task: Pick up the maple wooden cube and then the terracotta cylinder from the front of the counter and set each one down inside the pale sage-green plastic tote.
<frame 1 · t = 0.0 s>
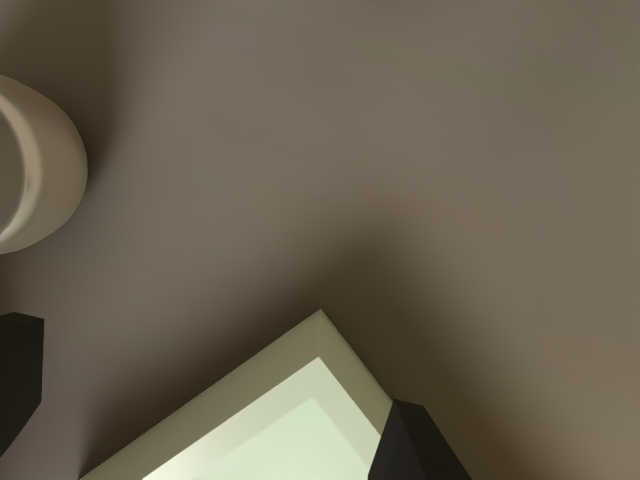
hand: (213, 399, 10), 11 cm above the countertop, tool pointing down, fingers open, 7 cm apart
plastic bottle: (31, 164, 20), on the countertop
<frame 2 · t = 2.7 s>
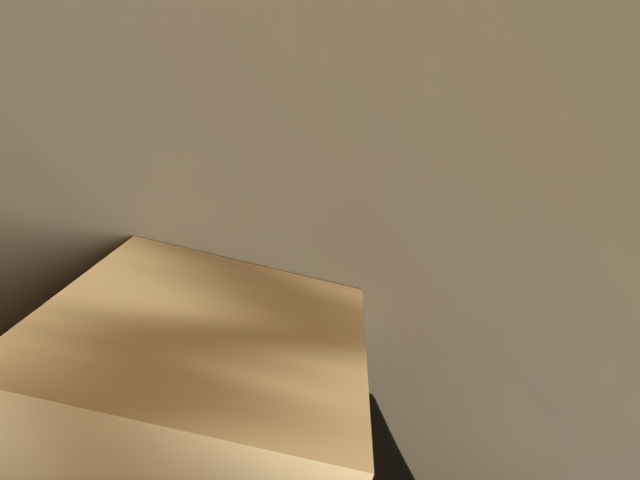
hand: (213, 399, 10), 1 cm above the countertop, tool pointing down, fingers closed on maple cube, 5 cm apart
maple cube: (229, 360, 11), on the countertop, touching gripper
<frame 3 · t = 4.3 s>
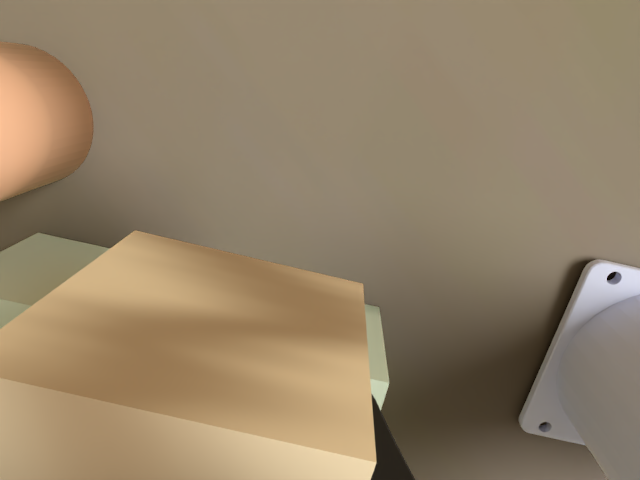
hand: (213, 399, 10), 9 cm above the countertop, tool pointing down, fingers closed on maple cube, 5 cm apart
maple cube: (230, 354, 11), point 8 cm above the countertop, touching gripper
sage tote: (184, 444, 22), on the countertop
terracotta cylinder: (26, 116, 17), on the countertop
when the fingers open (4 cm above the countertop, at t = 6.3 s): maple cube drops 2 cm, resting on sage tote.
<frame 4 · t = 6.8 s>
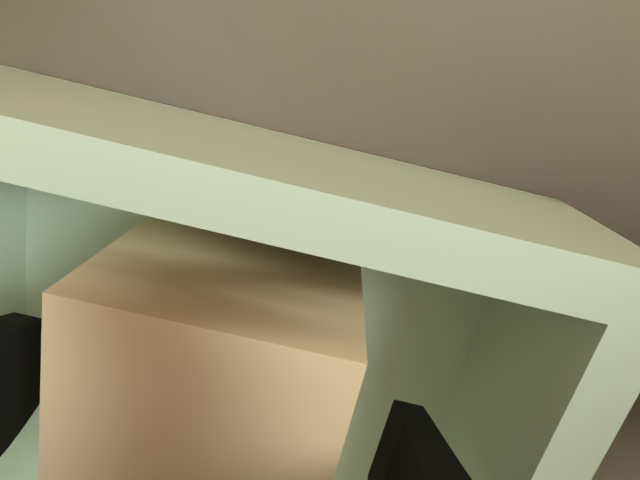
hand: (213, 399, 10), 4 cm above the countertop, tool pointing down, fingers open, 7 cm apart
maple cube: (246, 314, 13), point 1 cm above the countertop, touching sage tote
sage tote: (227, 422, 15), on the countertop
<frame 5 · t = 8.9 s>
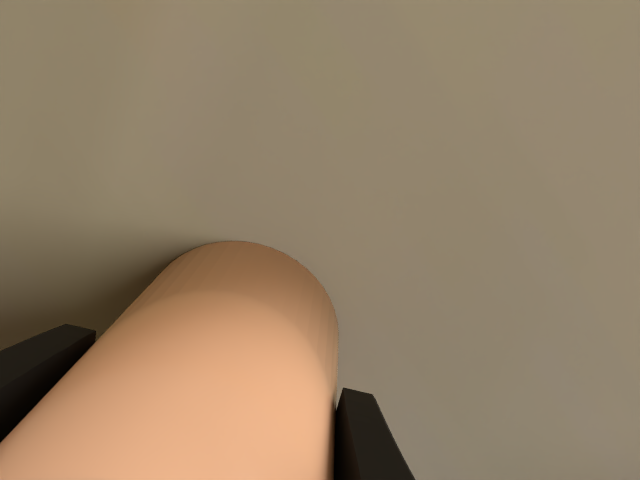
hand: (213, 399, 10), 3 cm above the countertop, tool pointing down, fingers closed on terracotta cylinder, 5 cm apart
terracotta cylinder: (240, 333, 12), on the countertop, touching gripper
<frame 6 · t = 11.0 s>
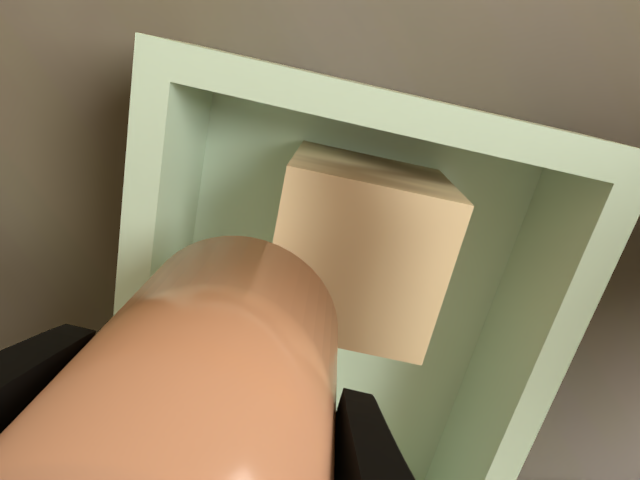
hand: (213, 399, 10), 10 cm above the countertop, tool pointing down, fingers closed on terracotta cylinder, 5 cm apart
maple cube: (355, 220, 18), point 1 cm above the countertop, touching sage tote
sage tote: (332, 309, 20), on the countertop
terracotta cylinder: (240, 328, 12), point 7 cm above the countertop, touching gripper
when the fingers open (5 cm above the countertop, at t = 13.0 s): terracotta cylinder drops 2 cm, resting on sage tote.
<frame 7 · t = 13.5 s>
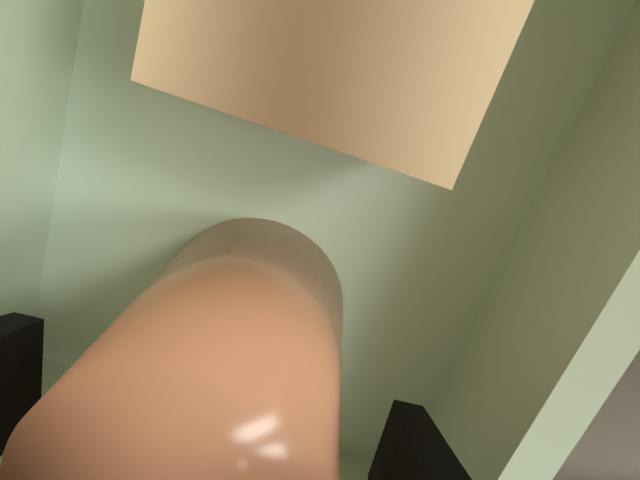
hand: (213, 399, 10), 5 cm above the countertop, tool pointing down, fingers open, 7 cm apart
maple cube: (349, 5, 11), point 1 cm above the countertop, touching sage tote
sage tote: (297, 170, 13), on the countertop
terracotta cylinder: (255, 301, 14), point 1 cm above the countertop, touching sage tote
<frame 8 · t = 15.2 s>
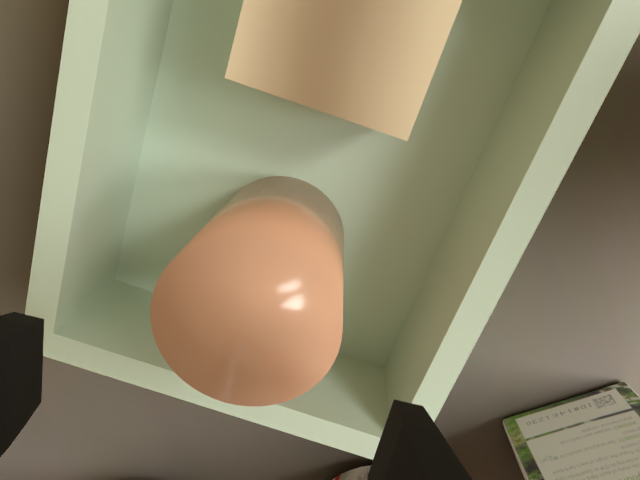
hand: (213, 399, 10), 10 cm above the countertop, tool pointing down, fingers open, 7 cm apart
maple cube: (348, 27, 16), point 1 cm above the countertop, touching sage tote
sage tote: (311, 142, 18), on the countertop
syrup box: (574, 439, 22), on the countertop
terracotta cylinder: (281, 238, 19), point 1 cm above the countertop, touching sage tote
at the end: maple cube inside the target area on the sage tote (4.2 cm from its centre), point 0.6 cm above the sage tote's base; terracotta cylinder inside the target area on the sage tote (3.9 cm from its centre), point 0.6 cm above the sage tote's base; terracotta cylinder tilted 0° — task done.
